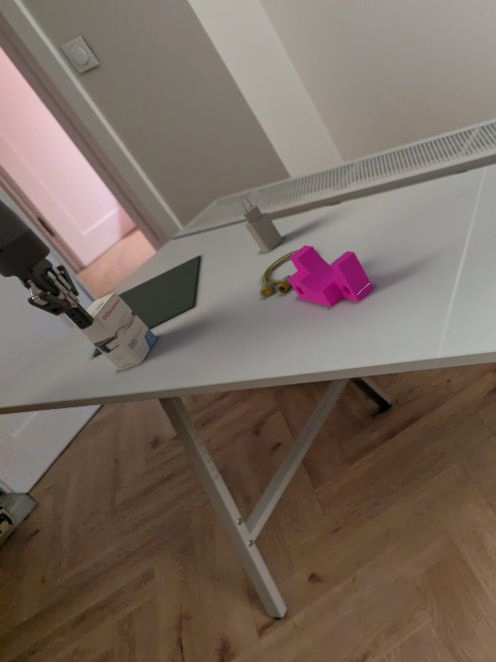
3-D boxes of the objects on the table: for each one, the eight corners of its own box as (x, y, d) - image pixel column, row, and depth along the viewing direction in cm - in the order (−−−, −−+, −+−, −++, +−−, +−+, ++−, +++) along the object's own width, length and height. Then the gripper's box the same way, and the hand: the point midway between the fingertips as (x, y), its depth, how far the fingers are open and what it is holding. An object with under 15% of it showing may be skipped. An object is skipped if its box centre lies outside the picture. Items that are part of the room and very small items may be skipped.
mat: (194, 308, 112) (192, 306, 112) (95, 358, 110) (93, 355, 110) (200, 257, 136) (198, 255, 136) (118, 297, 134) (117, 295, 134)
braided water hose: (241, 299, 108) (236, 291, 106) (288, 254, 117) (283, 246, 116) (283, 298, 101) (278, 290, 100) (329, 251, 111) (324, 242, 110)
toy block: (300, 298, 99) (278, 265, 94) (324, 278, 102) (304, 245, 97) (348, 311, 89) (326, 274, 85) (373, 289, 92) (354, 252, 88)
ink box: (137, 345, 108) (93, 299, 101) (158, 337, 107) (116, 290, 100) (119, 372, 101) (71, 324, 94) (142, 364, 101) (95, 315, 94)
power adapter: (284, 239, 126) (255, 192, 118) (270, 252, 122) (240, 205, 115) (275, 240, 127) (246, 194, 120) (261, 253, 124) (230, 206, 117)
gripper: (-6, 235, 87) (76, 318, 97) (-38, 266, 76) (58, 355, 86) (39, 214, 87) (115, 299, 98) (13, 242, 77) (102, 333, 87)
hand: (88, 325), depth 92 cm, fingers closed
